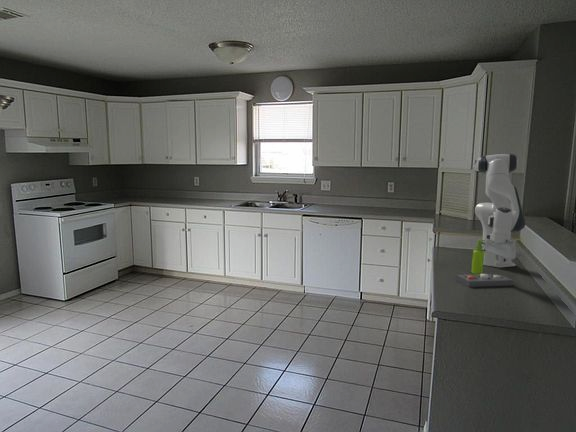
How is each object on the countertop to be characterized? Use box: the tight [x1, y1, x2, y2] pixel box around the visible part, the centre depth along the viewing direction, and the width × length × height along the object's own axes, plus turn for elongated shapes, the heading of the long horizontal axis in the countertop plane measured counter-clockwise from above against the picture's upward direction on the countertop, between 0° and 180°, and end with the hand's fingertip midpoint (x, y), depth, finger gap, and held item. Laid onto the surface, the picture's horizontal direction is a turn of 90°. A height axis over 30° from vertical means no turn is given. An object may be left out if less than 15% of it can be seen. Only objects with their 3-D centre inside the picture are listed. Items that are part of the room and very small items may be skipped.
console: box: [455, 273, 514, 288], centre depth 223 cm, size 26×12×3 cm, turn 101°
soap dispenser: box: [470, 238, 485, 274], centre depth 241 cm, size 6×7×20 cm
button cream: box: [480, 273, 489, 279], centre depth 223 cm, size 4×4×3 cm
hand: (498, 263), depth 223 cm, fingers closed
